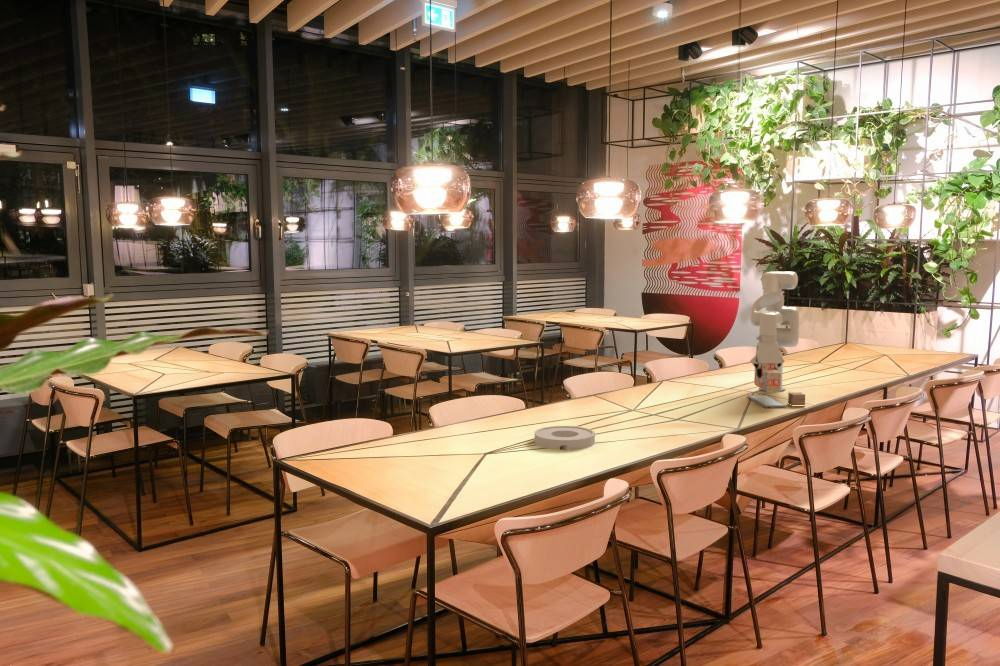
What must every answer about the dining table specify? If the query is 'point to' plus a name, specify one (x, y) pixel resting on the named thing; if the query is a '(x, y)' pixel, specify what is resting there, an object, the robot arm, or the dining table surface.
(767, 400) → the blueprint board
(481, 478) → the dining table surface
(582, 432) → the ashtray
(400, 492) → the dining table surface
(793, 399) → the walnut cube
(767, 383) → the stack of blocks
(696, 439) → the dining table surface
